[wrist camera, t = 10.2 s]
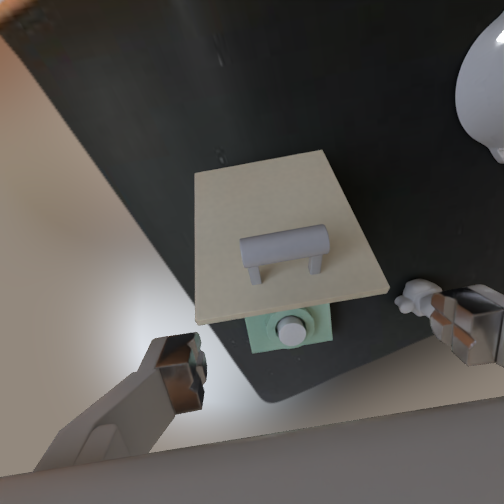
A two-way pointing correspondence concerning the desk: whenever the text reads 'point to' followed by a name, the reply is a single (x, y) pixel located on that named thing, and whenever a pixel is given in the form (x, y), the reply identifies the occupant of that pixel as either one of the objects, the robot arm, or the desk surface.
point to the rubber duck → (417, 297)
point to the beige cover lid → (277, 240)
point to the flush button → (291, 331)
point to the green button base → (265, 325)
